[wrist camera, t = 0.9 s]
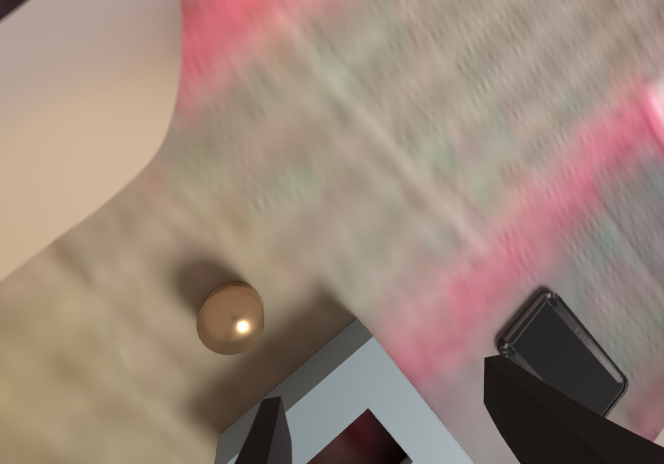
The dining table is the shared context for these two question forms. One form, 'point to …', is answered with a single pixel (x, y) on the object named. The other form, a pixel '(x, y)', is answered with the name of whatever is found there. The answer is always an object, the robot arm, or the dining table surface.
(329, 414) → the box
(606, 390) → the phone
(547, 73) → the dining table surface
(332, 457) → the dining table surface
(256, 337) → the disc
